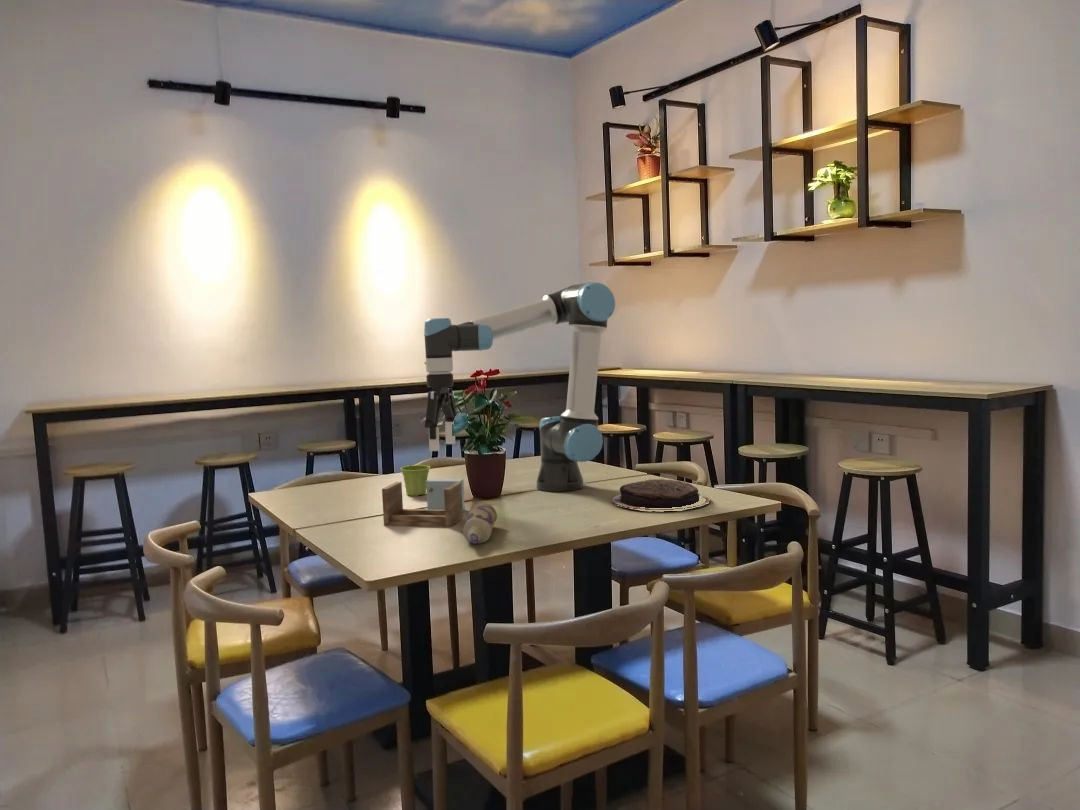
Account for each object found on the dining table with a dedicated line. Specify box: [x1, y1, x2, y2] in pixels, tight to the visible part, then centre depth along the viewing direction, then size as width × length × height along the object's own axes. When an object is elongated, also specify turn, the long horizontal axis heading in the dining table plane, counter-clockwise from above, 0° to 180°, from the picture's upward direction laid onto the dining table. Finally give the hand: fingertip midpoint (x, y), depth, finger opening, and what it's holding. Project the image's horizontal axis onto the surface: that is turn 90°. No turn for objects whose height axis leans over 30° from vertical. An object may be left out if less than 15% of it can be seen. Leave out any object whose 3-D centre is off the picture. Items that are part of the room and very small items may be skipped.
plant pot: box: [400, 464, 431, 497], centre depth 268 cm, size 9×9×9 cm
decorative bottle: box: [460, 502, 498, 544], centre depth 207 cm, size 26×8×7 cm, turn 178°
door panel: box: [426, 478, 466, 511], centre depth 241 cm, size 10×4×9 cm, turn 77°
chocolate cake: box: [611, 478, 711, 510], centre depth 242 cm, size 28×28×7 cm
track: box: [381, 481, 464, 528], centre depth 228 cm, size 19×10×10 cm, turn 77°
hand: (442, 447), depth 240 cm, fingers open, 13 cm apart
